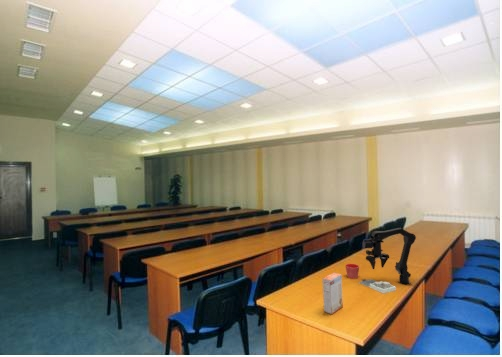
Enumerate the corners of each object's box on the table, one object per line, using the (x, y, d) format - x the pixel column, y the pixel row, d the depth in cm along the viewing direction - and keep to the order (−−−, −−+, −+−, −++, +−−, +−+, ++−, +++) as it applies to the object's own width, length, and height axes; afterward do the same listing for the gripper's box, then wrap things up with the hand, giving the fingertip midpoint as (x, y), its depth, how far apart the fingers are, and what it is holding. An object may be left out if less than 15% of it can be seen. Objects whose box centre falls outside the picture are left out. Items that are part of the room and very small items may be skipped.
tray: (381, 285, 204) (381, 281, 204) (395, 290, 193) (395, 286, 193) (369, 288, 199) (369, 283, 199) (383, 294, 188) (383, 289, 188)
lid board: (370, 279, 217) (370, 278, 217) (381, 283, 206) (381, 282, 206) (356, 282, 211) (356, 280, 211) (367, 287, 201) (367, 285, 201)
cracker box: (334, 304, 175) (333, 272, 175) (343, 307, 170) (342, 274, 171) (323, 311, 165) (321, 277, 166) (332, 315, 161) (330, 280, 161)
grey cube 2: (378, 287, 199) (378, 281, 199) (382, 289, 195) (382, 283, 195) (374, 287, 198) (373, 282, 198) (377, 290, 194) (377, 284, 194)
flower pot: (351, 280, 216) (350, 268, 216) (343, 276, 226) (342, 264, 226) (362, 278, 218) (362, 266, 219) (353, 274, 229) (353, 263, 229)
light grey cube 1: (385, 287, 198) (385, 281, 198) (390, 289, 194) (390, 283, 195) (382, 288, 196) (381, 282, 196) (386, 290, 193) (386, 284, 193)
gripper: (377, 244, 218) (378, 263, 218) (360, 247, 211) (360, 267, 211) (389, 247, 208) (390, 267, 207) (371, 250, 201) (372, 271, 200)
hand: (377, 268), depth 207 cm, fingers open, 9 cm apart
